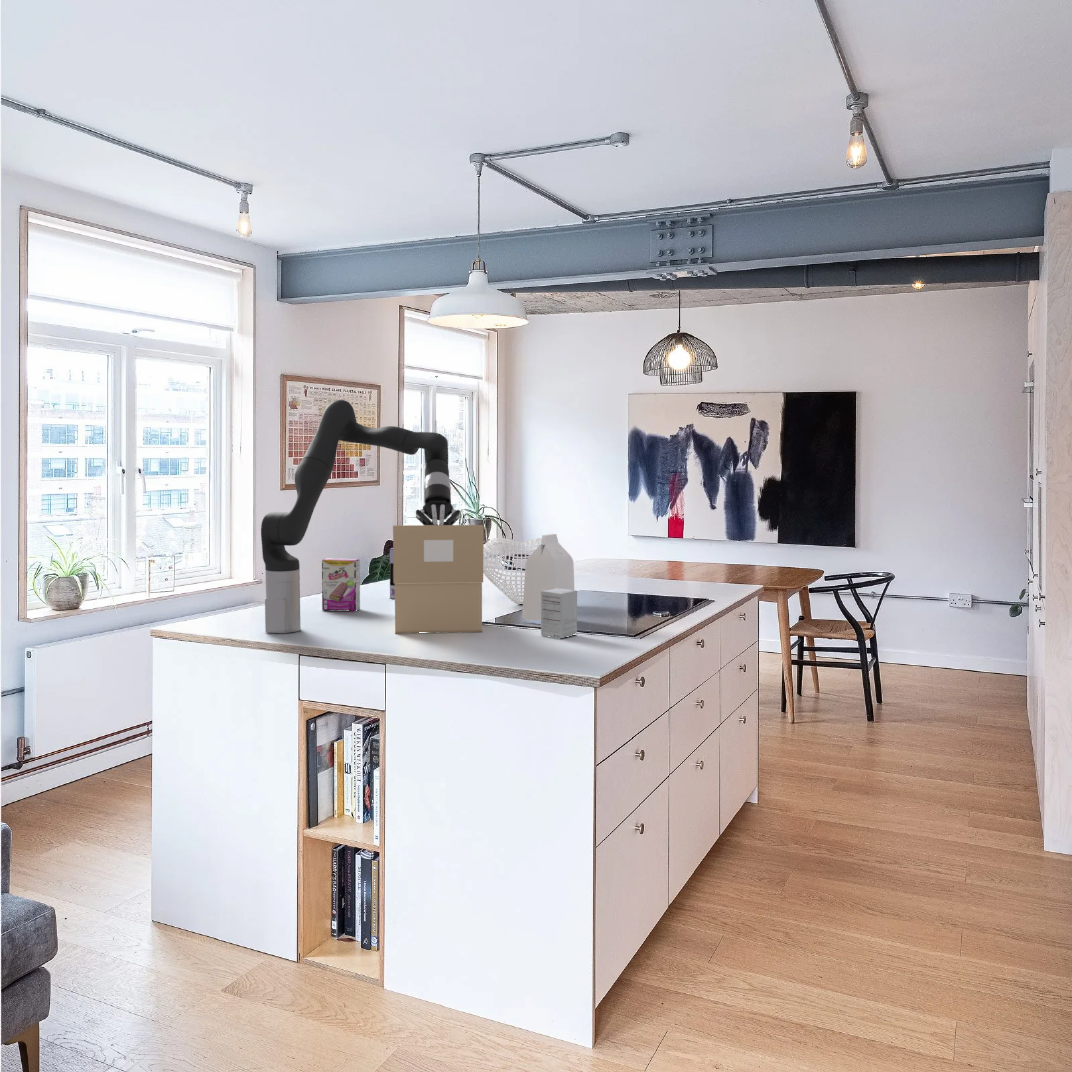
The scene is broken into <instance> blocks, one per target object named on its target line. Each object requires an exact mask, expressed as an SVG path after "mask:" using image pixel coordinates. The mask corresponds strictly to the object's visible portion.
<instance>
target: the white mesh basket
mask: <svg viewBox="0 0 1072 1072" xmlns="http://www.w3.org/2000/svg"><path fill="white" fill-rule="evenodd" d="M541 541H542V537H540V538H538V537H537V538H534V539H532V540H531V539H530V540H528V541H523V542H522V541H516V540H513V539H509V538H505V537H494V538H492V539H489V540H488V541H487V542H484V543H483V576H485V577H486V579H487V580H488V581H490V582H491V584H493V585H494V586H495V587H496V588H497V589H498V590H499V591H500V592H501V593H503V594H504V596H506V597H507V598H508V599H509V600H510V601H511V602H513V603H514V604H516V605H518V604H523V596H524V587H523V586H524V583H523V582H524V580H525V579H523V578H525V575H523V574H525V570H523V569H525V566H523V564H524V565H525V564H526V560H527V558H528V557H529V556H530V555H531V553H533V552H534V551H535V550H536V549H537V548H538V547H539V546H540V545H541ZM531 549H532V550H531ZM519 550H520V551H519ZM527 550H528V551H527ZM503 551H504V552H503ZM487 553H488V554H487ZM511 553H512V554H511ZM515 554H516V555H515ZM519 554H520V556H519ZM523 554H524V556H523ZM527 554H528V555H527ZM494 555H495V557H494ZM503 556H504V558H503ZM507 556H508V559H507ZM511 557H512V559H511ZM494 559H495V560H494ZM515 559H516V560H515ZM519 559H520V561H519ZM523 559H524V561H523ZM498 560H499V562H498ZM502 560H503V561H504V562H503V563H502ZM506 561H507V564H506ZM510 562H511V563H512V564H511V565H510ZM514 563H516V566H515V565H514ZM519 564H520V566H518V565H519ZM501 566H502V568H501ZM505 567H506V569H505ZM509 568H511V570H509ZM513 568H515V570H513ZM518 569H520V571H519V570H518ZM500 571H501V573H500ZM504 572H505V574H504ZM508 573H510V575H509V574H508ZM513 573H515V575H513ZM518 573H519V574H520V575H518ZM502 577H504V578H502ZM507 577H508V578H509V579H507ZM512 578H514V579H512ZM518 578H520V579H518ZM507 582H509V583H507ZM513 582H514V583H513ZM518 582H520V583H518ZM513 586H514V587H513ZM518 586H520V587H518ZM519 590H520V591H519Z"/></svg>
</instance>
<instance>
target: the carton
mask: <svg viewBox="0 0 1072 1072" xmlns="http://www.w3.org/2000/svg"><path fill="white" fill-rule="evenodd" d="M419 632H471V633H483V582H470V583H395V599H394V634H395V635H402V634H401V633H419ZM419 634H420V633H419Z"/></svg>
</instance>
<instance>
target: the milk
mask: <svg viewBox="0 0 1072 1072" xmlns="http://www.w3.org/2000/svg"><path fill="white" fill-rule="evenodd" d="M541 536H542V537H541V538H542V541H541V543H540V546H539V547H538V548H537V547H536V548H535V549H536V550H535V551H534V552H531V553H530V556H529V555H528V556H529V557H528V558H526V564H525V563H524V567H525V568H524V571H525V573H524V576H525V577H524V579H523V580H524V581H523V582H524V583H523V584H524V585H523V588H524V589H523V591H524V593H523V595H524V596H523V597H522V598H523V599H522V600H523V605H522V615H521V619H522V618H523V619H528V620H541V591H545V590H550V589H555V588H560V589H569V590H575V571H574V569H575V568H574V567H575V566H574V565H575V564H574V559H573V557H572V556H571V554H570V553H569V552H568V551H567V550H566V549H565V548H564V547H563V546H562V545H561V543H559V539H558V535H557V534H556V533H548V534H543V535H541Z"/></svg>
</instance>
